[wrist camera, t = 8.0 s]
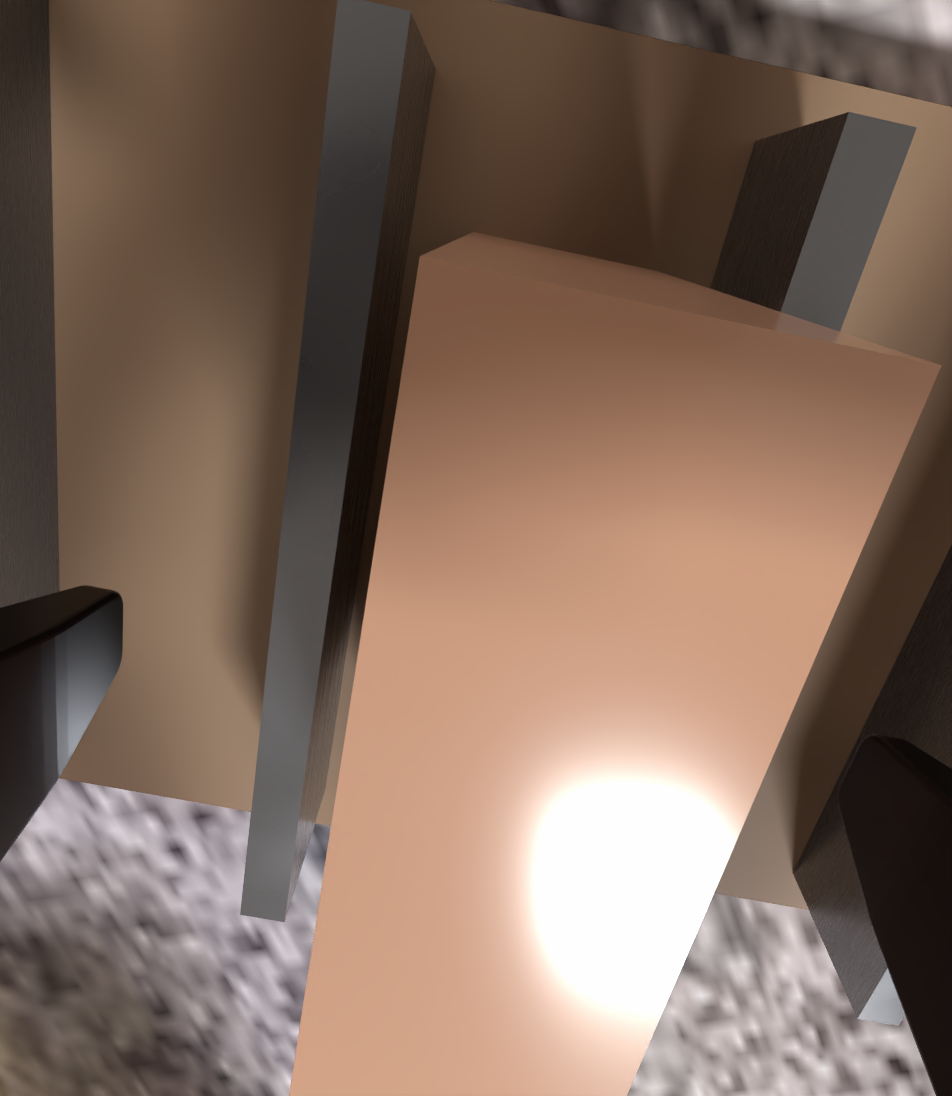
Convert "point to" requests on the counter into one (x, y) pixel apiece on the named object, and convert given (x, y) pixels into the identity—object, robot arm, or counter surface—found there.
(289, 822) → the rack dividers
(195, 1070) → the counter surface
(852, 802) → the robot arm
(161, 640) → the rack base
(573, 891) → the peach rectangular block
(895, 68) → the counter surface
